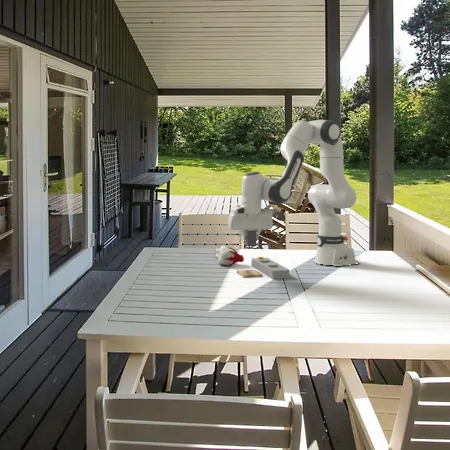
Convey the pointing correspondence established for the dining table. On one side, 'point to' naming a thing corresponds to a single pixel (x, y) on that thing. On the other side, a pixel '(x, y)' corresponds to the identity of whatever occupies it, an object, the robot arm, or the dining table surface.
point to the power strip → (270, 268)
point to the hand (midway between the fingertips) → (250, 239)
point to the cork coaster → (249, 273)
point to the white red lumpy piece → (228, 256)
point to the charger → (250, 237)
